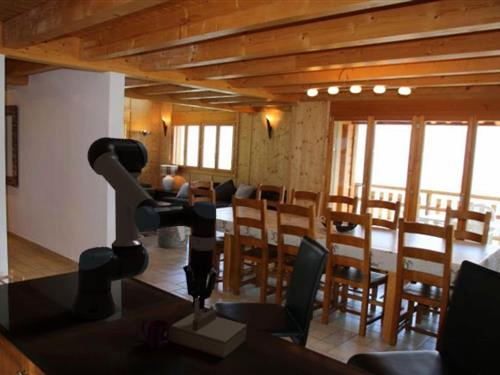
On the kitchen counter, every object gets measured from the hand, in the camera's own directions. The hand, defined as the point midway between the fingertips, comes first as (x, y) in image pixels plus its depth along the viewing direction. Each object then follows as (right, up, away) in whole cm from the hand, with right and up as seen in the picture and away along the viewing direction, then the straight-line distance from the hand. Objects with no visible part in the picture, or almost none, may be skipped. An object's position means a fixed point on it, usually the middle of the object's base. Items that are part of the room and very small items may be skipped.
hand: (197, 317), depth 146 cm
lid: (+4, -3, -2) cm, 5 cm away
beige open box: (+4, -7, -1) cm, 8 cm away
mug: (-14, -7, -5) cm, 16 cm away
